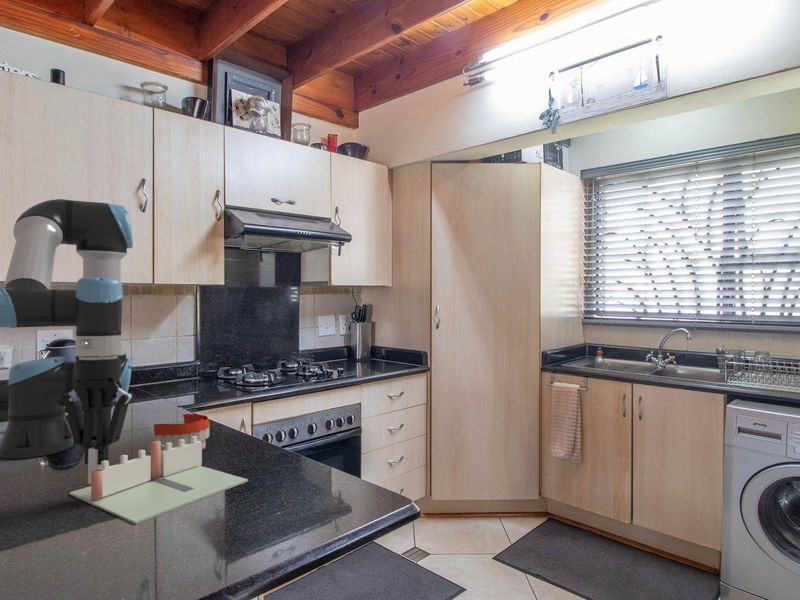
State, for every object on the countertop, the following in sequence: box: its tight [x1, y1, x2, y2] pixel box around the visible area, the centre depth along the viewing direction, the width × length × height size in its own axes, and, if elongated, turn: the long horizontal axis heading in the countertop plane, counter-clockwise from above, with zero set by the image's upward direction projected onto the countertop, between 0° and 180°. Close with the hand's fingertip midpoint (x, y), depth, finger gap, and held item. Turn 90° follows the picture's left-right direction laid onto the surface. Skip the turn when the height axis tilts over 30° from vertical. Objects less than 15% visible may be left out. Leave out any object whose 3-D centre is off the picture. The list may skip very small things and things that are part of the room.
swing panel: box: [90, 449, 151, 500], centre depth 92 cm, size 11×2×6 cm, turn 154°
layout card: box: [69, 465, 249, 525], centre depth 95 cm, size 24×23×1 cm
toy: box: [153, 413, 211, 452], centre depth 119 cm, size 12×10×8 cm
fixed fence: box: [149, 436, 203, 480], centre depth 103 cm, size 2×12×8 cm, turn 147°
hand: (96, 480), depth 90 cm, fingers closed
